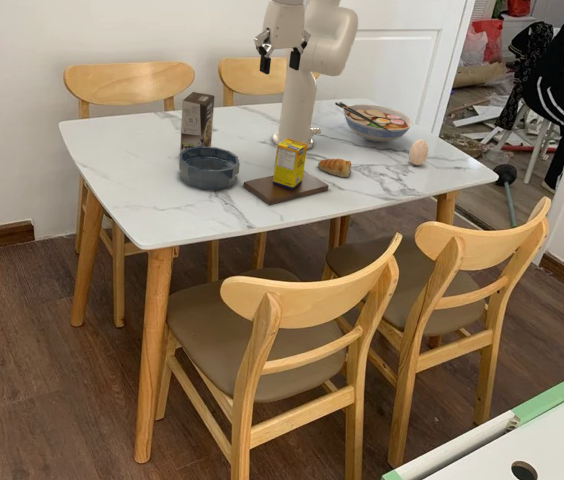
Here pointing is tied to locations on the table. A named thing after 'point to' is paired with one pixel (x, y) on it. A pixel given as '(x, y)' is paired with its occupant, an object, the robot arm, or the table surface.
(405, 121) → the ramen bowl
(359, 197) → the table surface
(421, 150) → the egg
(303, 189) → the walnut board
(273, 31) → the robot arm
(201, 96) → the coffee box
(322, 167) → the pastry
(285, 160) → the supplement box
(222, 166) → the bowl
